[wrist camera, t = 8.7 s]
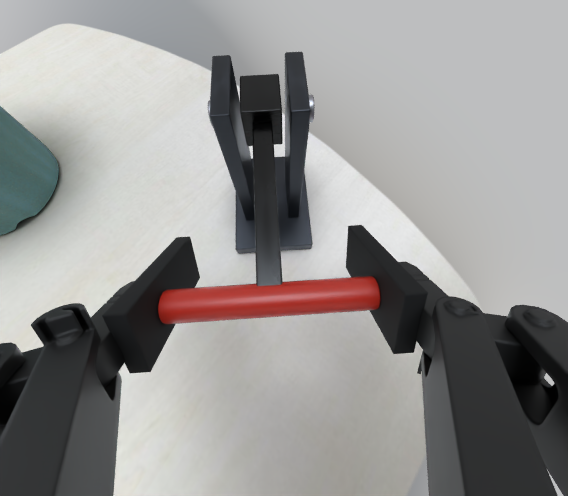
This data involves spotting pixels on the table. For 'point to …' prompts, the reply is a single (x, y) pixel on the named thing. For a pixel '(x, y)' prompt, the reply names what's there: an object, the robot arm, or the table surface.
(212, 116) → the bracket
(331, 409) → the table surface
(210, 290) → the lever
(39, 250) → the table surface
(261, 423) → the table surface
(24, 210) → the flower pot
